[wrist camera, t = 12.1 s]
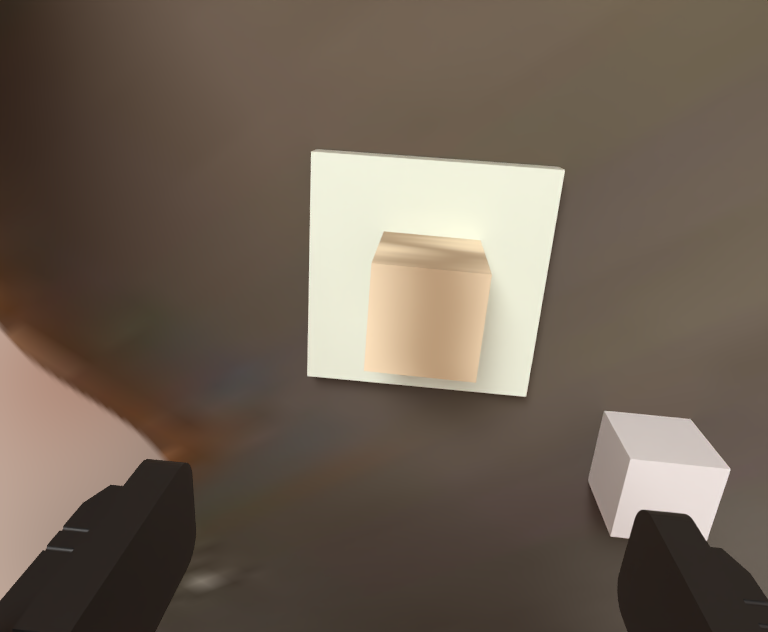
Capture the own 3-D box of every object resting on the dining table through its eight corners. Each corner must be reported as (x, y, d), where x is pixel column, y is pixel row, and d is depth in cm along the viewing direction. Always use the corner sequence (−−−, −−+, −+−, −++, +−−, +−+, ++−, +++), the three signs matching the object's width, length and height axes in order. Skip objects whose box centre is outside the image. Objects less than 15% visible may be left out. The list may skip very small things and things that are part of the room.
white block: (587, 479, 29) (610, 536, 25) (603, 409, 27) (630, 458, 23) (669, 488, 28) (704, 546, 25) (689, 418, 27) (730, 469, 23)
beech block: (376, 321, 25) (363, 370, 20) (383, 231, 24) (371, 263, 19) (468, 330, 25) (475, 382, 20) (480, 240, 23) (491, 274, 19)
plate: (312, 364, 27) (307, 376, 26) (317, 149, 24) (311, 151, 23) (522, 384, 27) (526, 396, 26) (558, 166, 23) (564, 170, 22)
